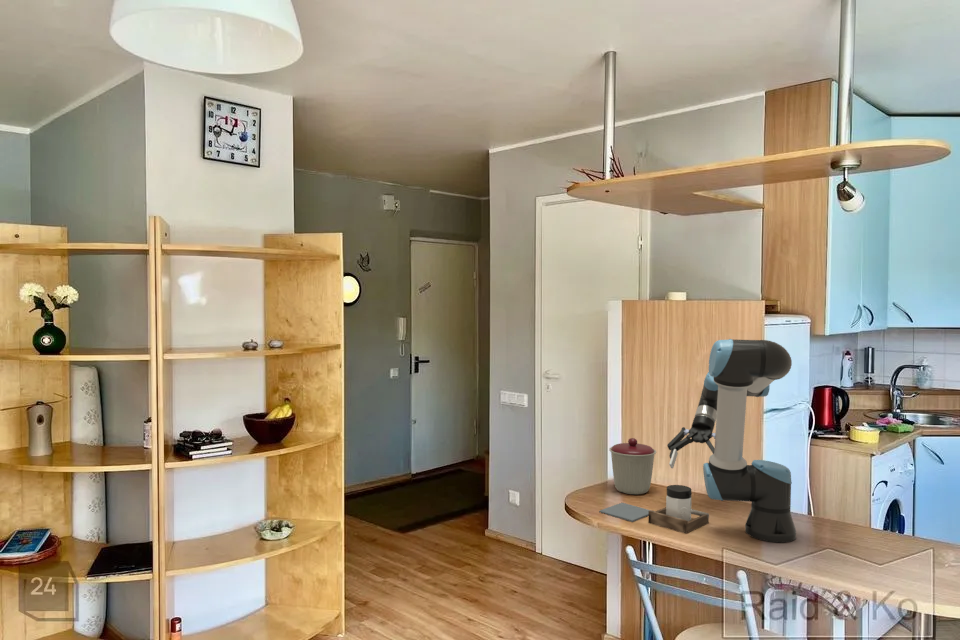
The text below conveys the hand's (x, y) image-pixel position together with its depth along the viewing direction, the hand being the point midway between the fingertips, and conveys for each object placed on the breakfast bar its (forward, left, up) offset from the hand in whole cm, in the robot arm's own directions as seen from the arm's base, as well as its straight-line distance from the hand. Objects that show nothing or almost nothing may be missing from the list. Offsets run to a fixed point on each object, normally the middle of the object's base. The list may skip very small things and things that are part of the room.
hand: (689, 469), depth 234 cm
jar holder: (-2, +11, -16) cm, 19 cm away
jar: (-2, +11, -16) cm, 20 cm away
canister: (+30, -9, -16) cm, 35 cm away
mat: (+16, +15, -16) cm, 27 cm away
